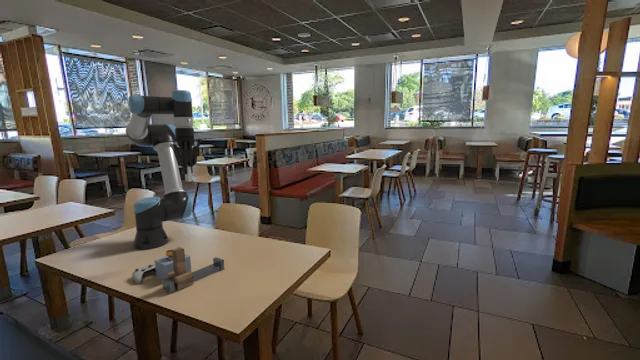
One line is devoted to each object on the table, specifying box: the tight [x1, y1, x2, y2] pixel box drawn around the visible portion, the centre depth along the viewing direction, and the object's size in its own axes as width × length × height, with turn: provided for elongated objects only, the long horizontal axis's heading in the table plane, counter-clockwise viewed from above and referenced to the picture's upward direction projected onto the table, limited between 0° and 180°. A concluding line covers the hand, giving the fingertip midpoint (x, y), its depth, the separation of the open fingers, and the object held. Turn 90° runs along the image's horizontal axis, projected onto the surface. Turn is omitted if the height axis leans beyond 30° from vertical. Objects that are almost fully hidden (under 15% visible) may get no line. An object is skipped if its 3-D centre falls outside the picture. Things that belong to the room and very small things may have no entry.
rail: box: [161, 256, 225, 294], centre depth 119 cm, size 5×23×4 cm, turn 145°
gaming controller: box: [131, 264, 156, 285], centre depth 121 cm, size 11×6×7 cm
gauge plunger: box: [165, 248, 174, 261], centre depth 121 cm, size 4×4×9 cm
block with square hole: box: [154, 253, 192, 281], centre depth 122 cm, size 8×10×7 cm
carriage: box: [168, 246, 195, 291], centre depth 113 cm, size 7×6×14 cm
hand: (188, 181), depth 137 cm, fingers closed
